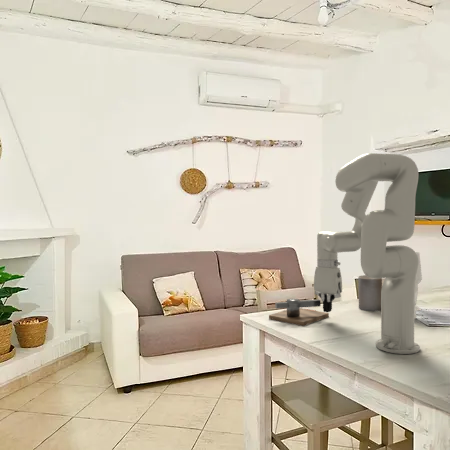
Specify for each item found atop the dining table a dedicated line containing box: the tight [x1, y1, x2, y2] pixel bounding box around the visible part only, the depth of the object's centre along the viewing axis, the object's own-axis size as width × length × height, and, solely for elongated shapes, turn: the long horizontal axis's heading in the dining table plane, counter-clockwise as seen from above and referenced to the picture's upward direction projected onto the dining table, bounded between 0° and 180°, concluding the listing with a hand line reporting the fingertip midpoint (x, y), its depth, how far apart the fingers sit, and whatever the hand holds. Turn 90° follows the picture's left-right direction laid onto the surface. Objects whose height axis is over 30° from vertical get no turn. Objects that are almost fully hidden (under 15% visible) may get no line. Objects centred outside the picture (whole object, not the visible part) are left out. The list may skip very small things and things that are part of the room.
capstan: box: [274, 298, 322, 317], centre depth 173 cm, size 18×5×6 cm, turn 102°
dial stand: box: [268, 307, 330, 327], centre depth 176 cm, size 18×16×2 cm
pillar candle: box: [357, 274, 383, 312], centre depth 190 cm, size 10×10×15 cm
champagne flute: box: [415, 251, 423, 312], centre depth 188 cm, size 7×7×24 cm
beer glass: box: [414, 279, 419, 320], centre depth 174 cm, size 7×7×15 cm
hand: (327, 311), depth 170 cm, fingers closed
